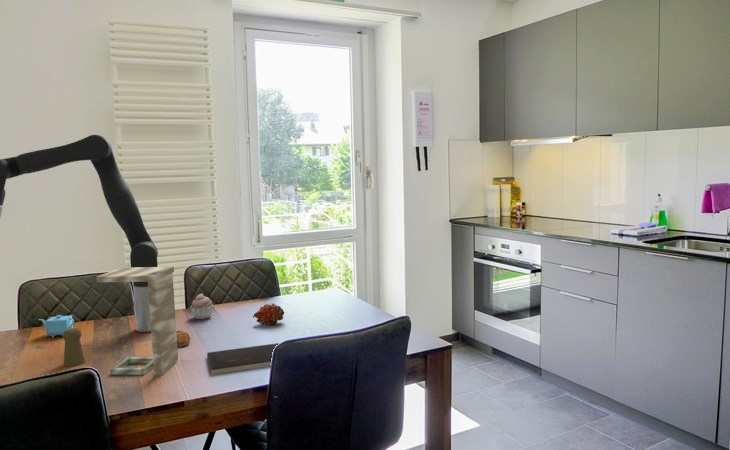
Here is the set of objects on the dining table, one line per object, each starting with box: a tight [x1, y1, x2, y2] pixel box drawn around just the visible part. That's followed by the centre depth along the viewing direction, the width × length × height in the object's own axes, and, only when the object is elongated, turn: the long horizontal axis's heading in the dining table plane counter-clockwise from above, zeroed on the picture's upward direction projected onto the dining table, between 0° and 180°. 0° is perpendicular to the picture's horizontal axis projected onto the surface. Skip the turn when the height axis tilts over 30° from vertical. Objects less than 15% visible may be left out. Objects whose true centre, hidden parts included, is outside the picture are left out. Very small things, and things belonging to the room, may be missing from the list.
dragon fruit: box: [252, 303, 285, 326], centre depth 210 cm, size 8×8×12 cm
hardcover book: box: [206, 342, 280, 375], centre depth 172 cm, size 16×23×2 cm
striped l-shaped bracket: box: [96, 266, 179, 377], centre depth 165 cm, size 17×14×30 cm
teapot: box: [38, 314, 75, 337], centre depth 202 cm, size 12×6×8 cm, turn 102°
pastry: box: [176, 330, 191, 348], centre depth 190 cm, size 9×7×4 cm
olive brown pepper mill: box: [62, 327, 86, 367], centre depth 172 cm, size 6×6×11 cm
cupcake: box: [189, 293, 214, 320], centre depth 221 cm, size 9×9×10 cm
